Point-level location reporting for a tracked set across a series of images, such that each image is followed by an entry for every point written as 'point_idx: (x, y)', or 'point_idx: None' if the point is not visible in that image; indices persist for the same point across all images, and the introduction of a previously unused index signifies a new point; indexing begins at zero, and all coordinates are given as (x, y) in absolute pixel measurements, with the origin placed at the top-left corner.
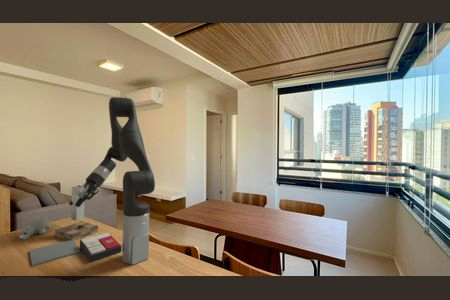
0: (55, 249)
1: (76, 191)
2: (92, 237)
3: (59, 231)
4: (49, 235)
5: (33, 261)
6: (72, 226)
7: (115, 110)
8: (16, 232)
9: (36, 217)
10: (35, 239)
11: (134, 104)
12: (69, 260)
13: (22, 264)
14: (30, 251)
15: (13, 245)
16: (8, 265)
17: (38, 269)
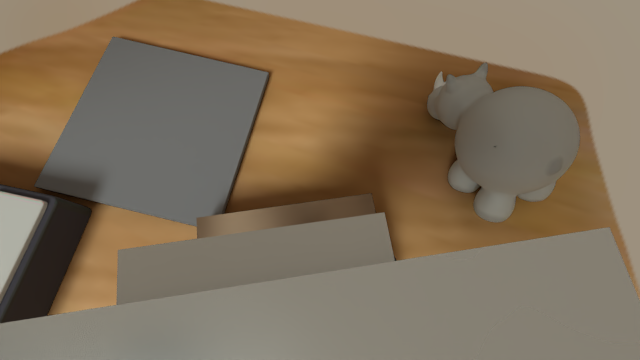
0: (169, 130)
1: (222, 287)
2: (2, 256)
3: (327, 199)
4: (403, 192)
5: (137, 46)
6: None
7: None
8: None
9: (520, 103)
10: (398, 135)
11: None
12: (20, 128)
13: (169, 31)
14: (247, 70)
15: (396, 65)
16: (207, 8)
17: (72, 45)
